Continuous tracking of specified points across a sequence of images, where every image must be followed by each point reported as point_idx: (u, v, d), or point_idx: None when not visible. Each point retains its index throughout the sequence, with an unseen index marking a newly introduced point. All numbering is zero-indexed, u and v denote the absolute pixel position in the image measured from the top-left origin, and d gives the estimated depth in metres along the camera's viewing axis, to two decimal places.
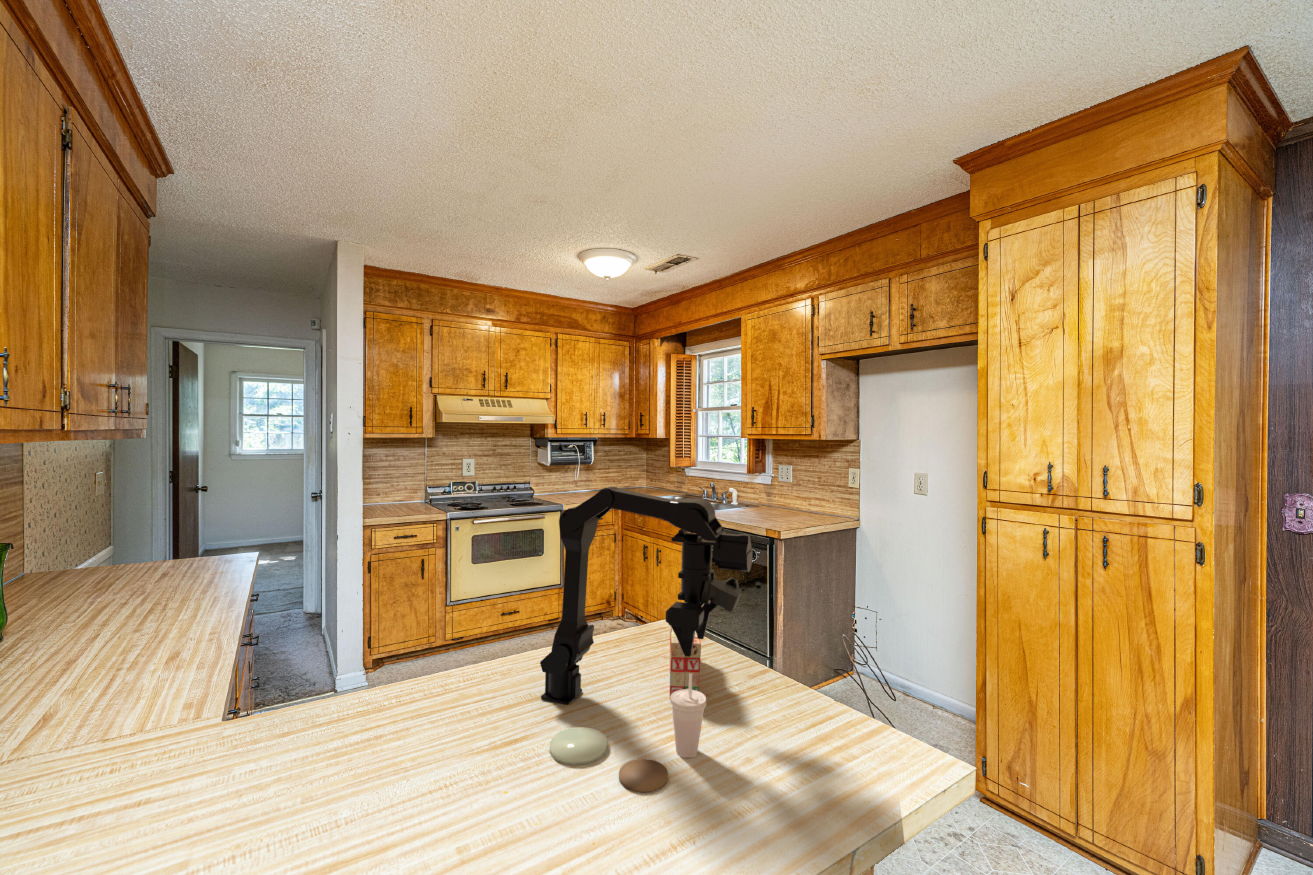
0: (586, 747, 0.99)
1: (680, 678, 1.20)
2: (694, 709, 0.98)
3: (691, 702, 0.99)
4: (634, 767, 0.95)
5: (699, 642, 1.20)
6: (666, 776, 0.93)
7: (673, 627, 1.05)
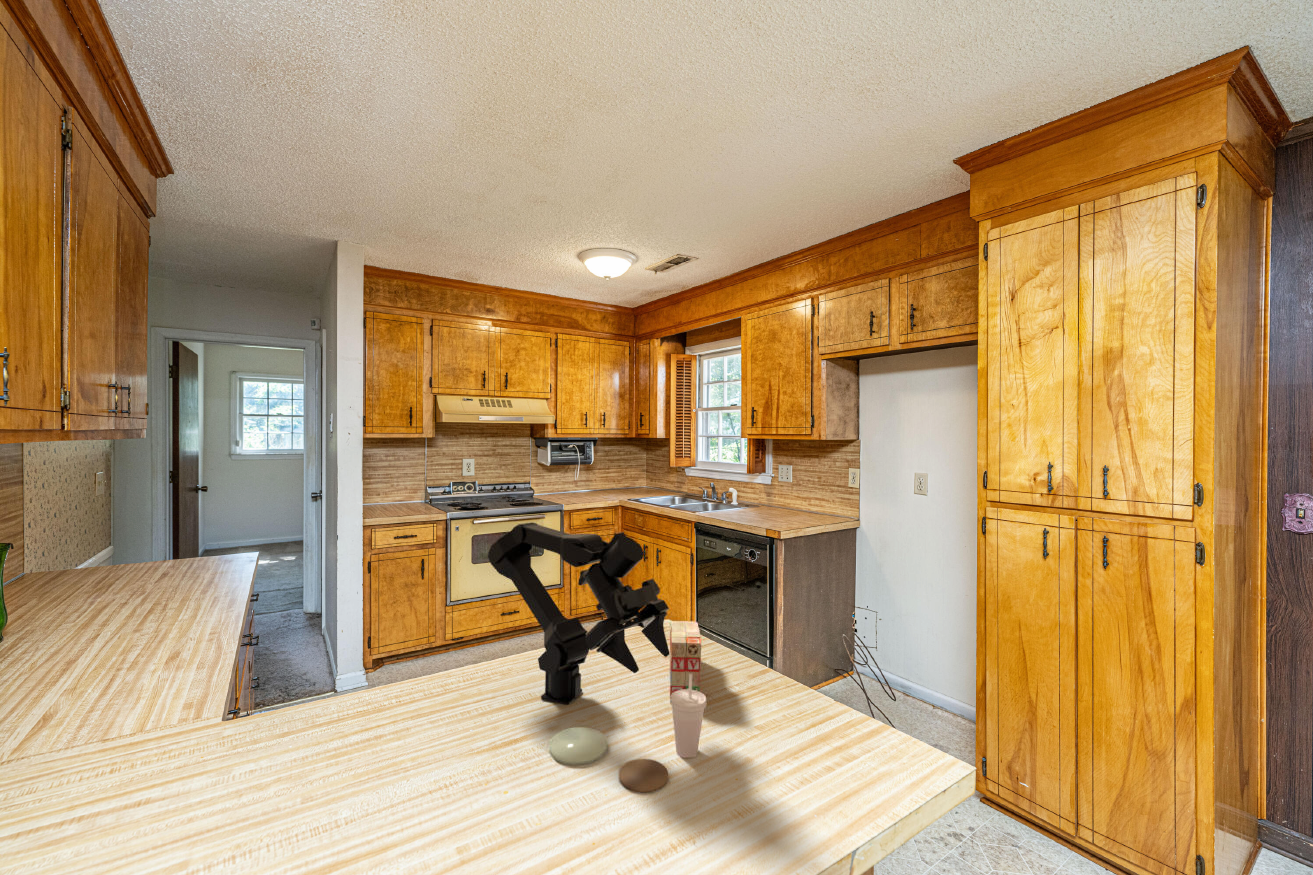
0: (586, 747, 0.99)
1: (681, 677, 1.20)
2: (694, 709, 0.98)
3: (691, 702, 0.99)
4: (634, 767, 0.95)
5: (699, 642, 1.20)
6: (666, 776, 0.93)
7: (606, 653, 1.03)
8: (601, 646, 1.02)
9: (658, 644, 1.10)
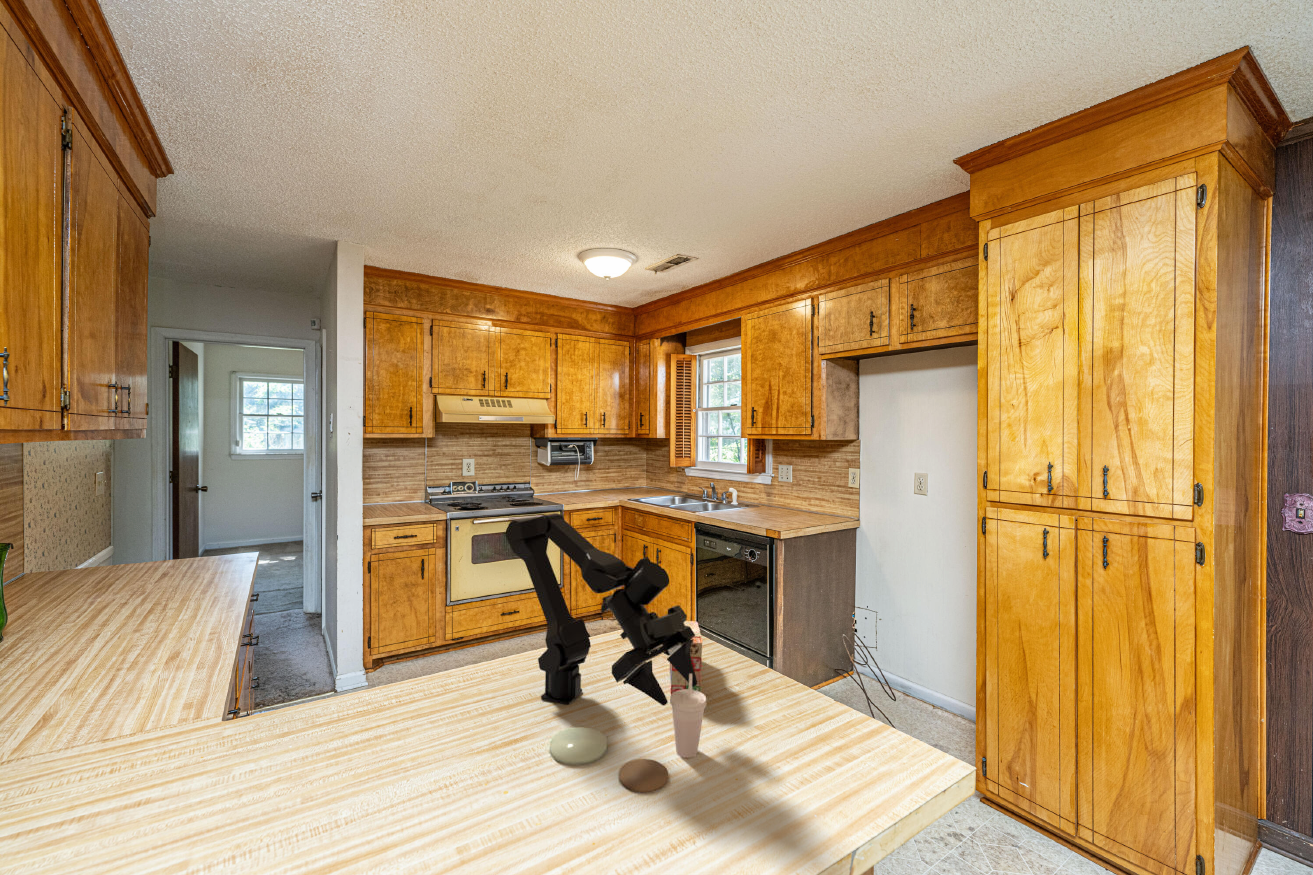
0: (586, 747, 0.99)
1: (682, 677, 1.20)
2: (694, 709, 0.98)
3: (691, 702, 0.99)
4: (634, 767, 0.95)
5: (700, 641, 1.20)
6: (666, 776, 0.93)
7: (633, 684, 1.00)
8: (628, 678, 0.98)
9: (685, 673, 1.06)
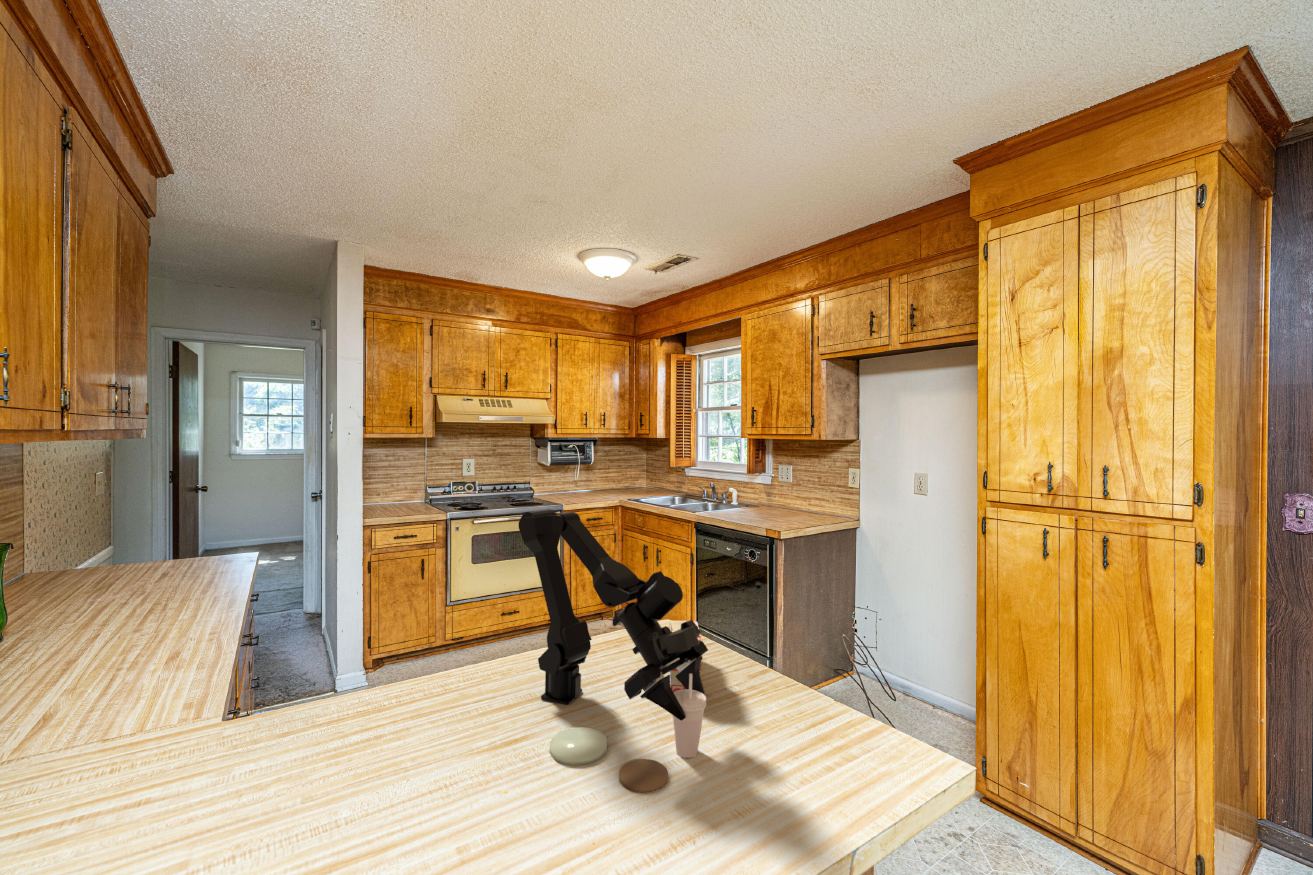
0: (586, 747, 0.99)
1: None
2: (694, 709, 0.98)
3: (691, 702, 0.99)
4: (634, 767, 0.95)
5: None
6: (666, 776, 0.93)
7: (650, 698, 0.99)
8: (646, 692, 0.98)
9: None
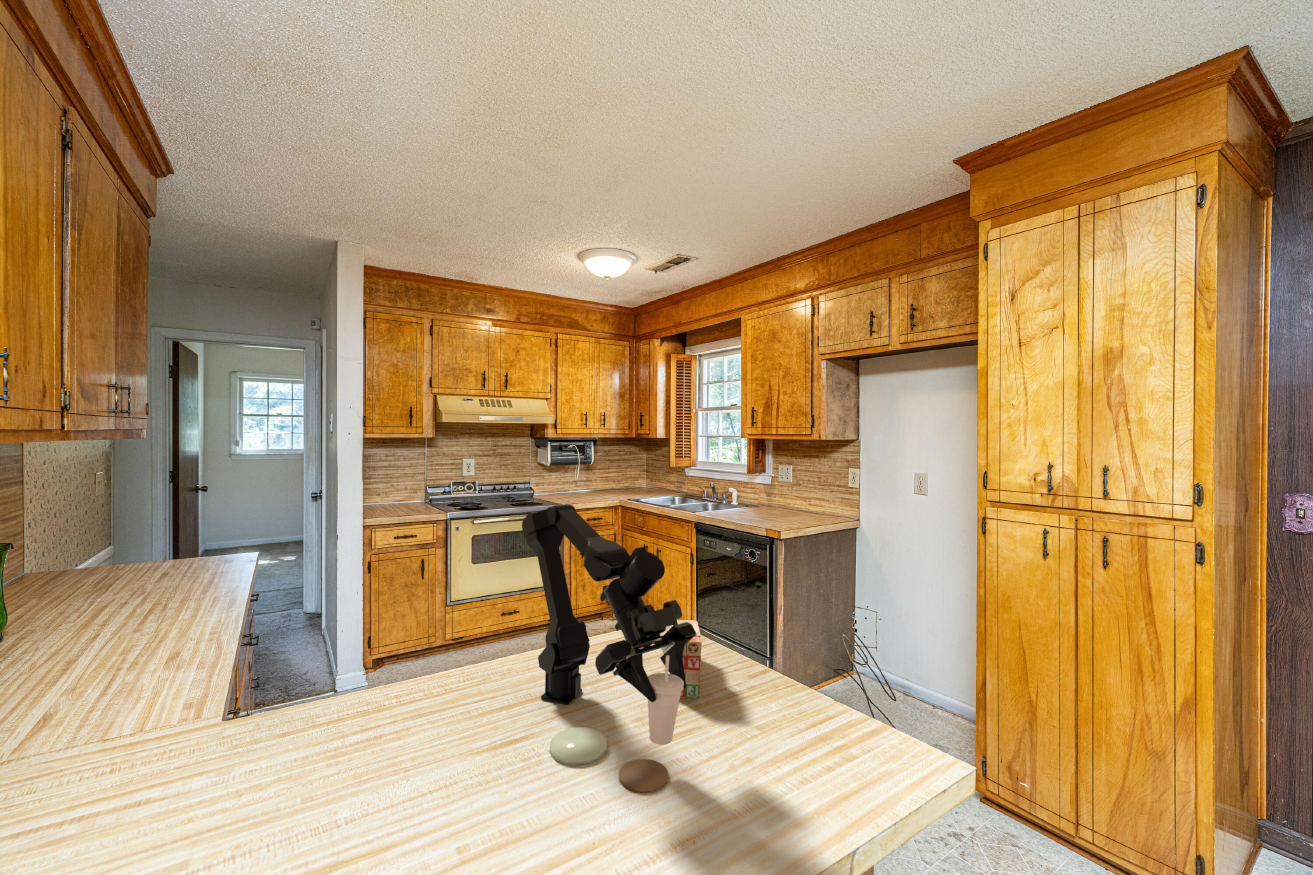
0: (586, 747, 0.99)
1: None
2: (667, 692, 0.93)
3: (665, 685, 0.94)
4: (634, 767, 0.95)
5: (699, 640, 1.21)
6: (666, 776, 0.93)
7: (623, 677, 0.95)
8: (617, 669, 0.94)
9: None
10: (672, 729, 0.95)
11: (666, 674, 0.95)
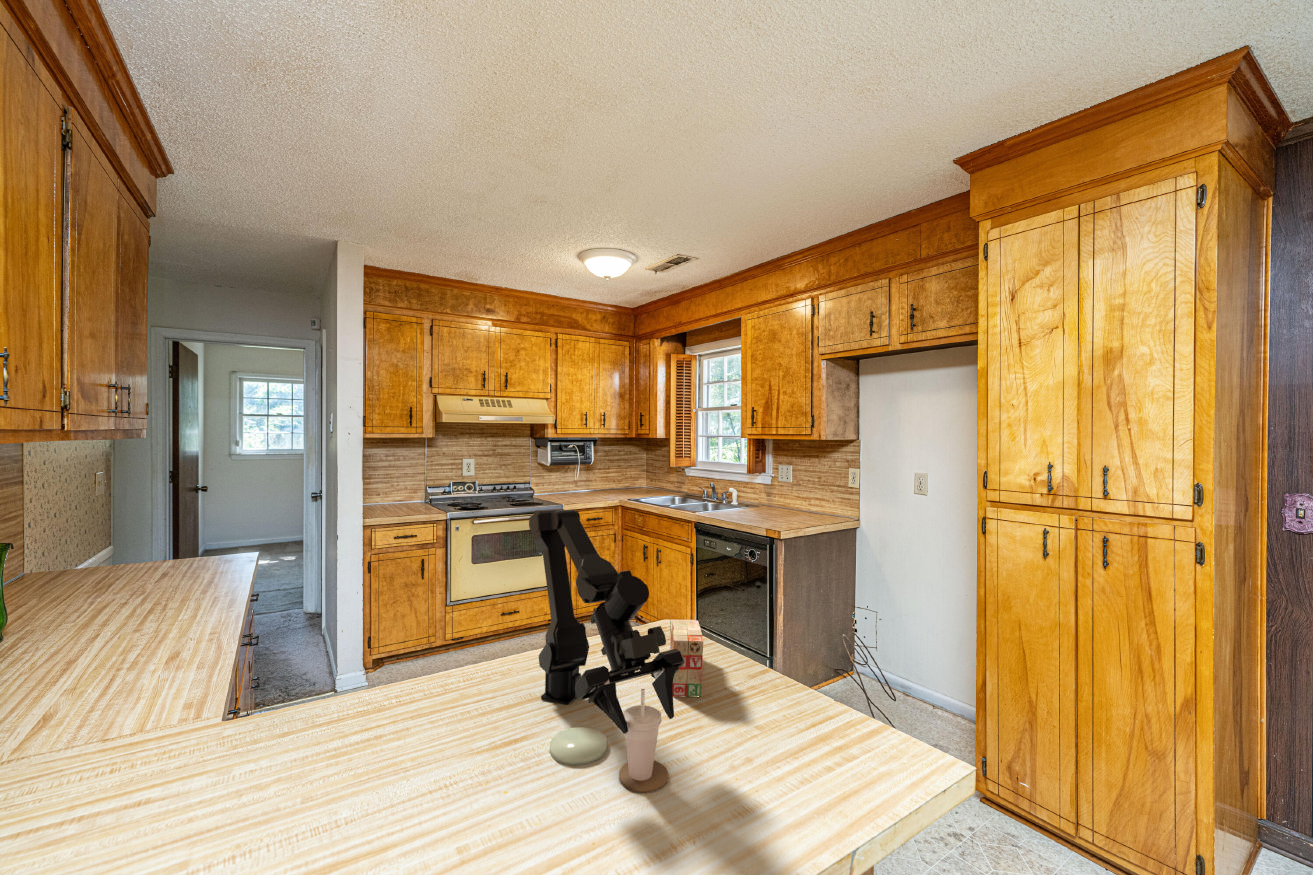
0: (586, 747, 0.99)
1: (683, 675, 1.21)
2: (641, 728, 0.90)
3: (640, 720, 0.91)
4: None
5: (701, 640, 1.21)
6: (666, 776, 0.93)
7: (598, 705, 0.93)
8: (590, 697, 0.92)
9: (664, 702, 0.96)
10: (650, 765, 0.92)
11: (642, 708, 0.92)
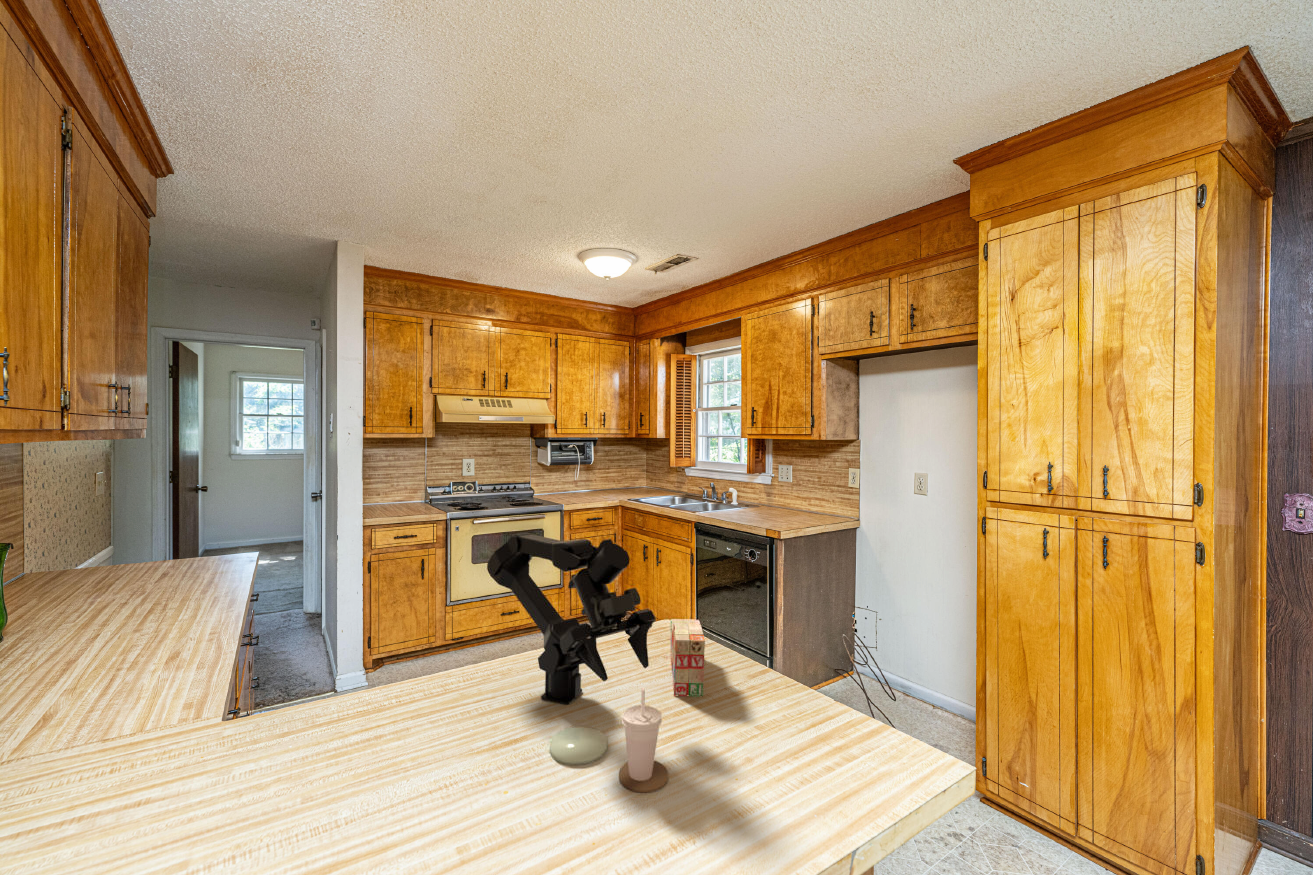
0: (586, 747, 0.99)
1: (685, 674, 1.21)
2: (641, 728, 0.90)
3: (640, 720, 0.91)
4: None
5: (703, 639, 1.22)
6: (666, 776, 0.93)
7: (579, 658, 1.05)
8: (573, 651, 1.04)
9: (639, 654, 1.09)
10: (650, 765, 0.92)
11: (642, 708, 0.92)
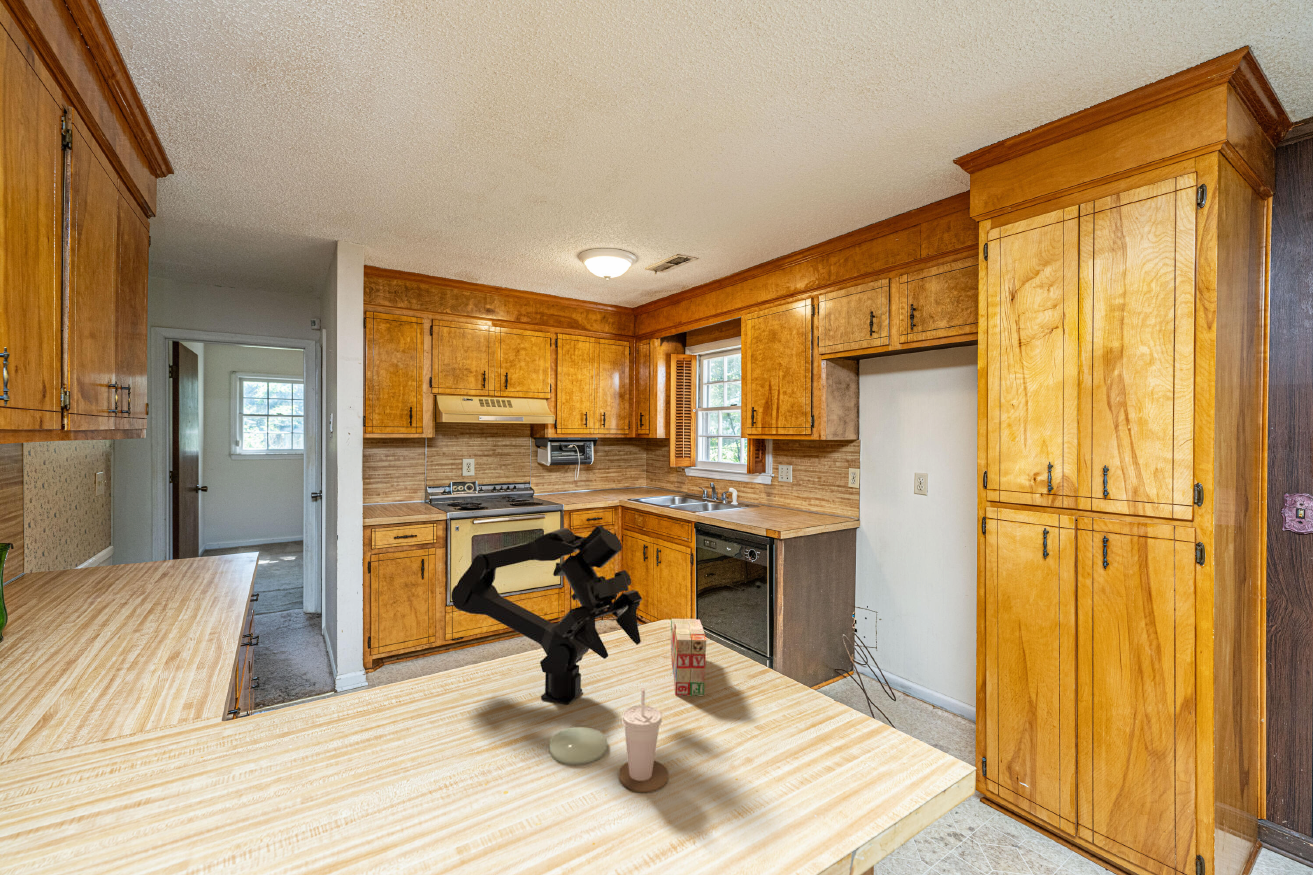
0: (586, 747, 0.99)
1: (686, 674, 1.21)
2: (641, 728, 0.90)
3: (640, 720, 0.91)
4: None
5: (704, 639, 1.22)
6: (666, 776, 0.93)
7: (578, 639, 1.09)
8: (573, 633, 1.08)
9: (630, 632, 1.15)
10: (650, 765, 0.92)
11: (642, 708, 0.92)
